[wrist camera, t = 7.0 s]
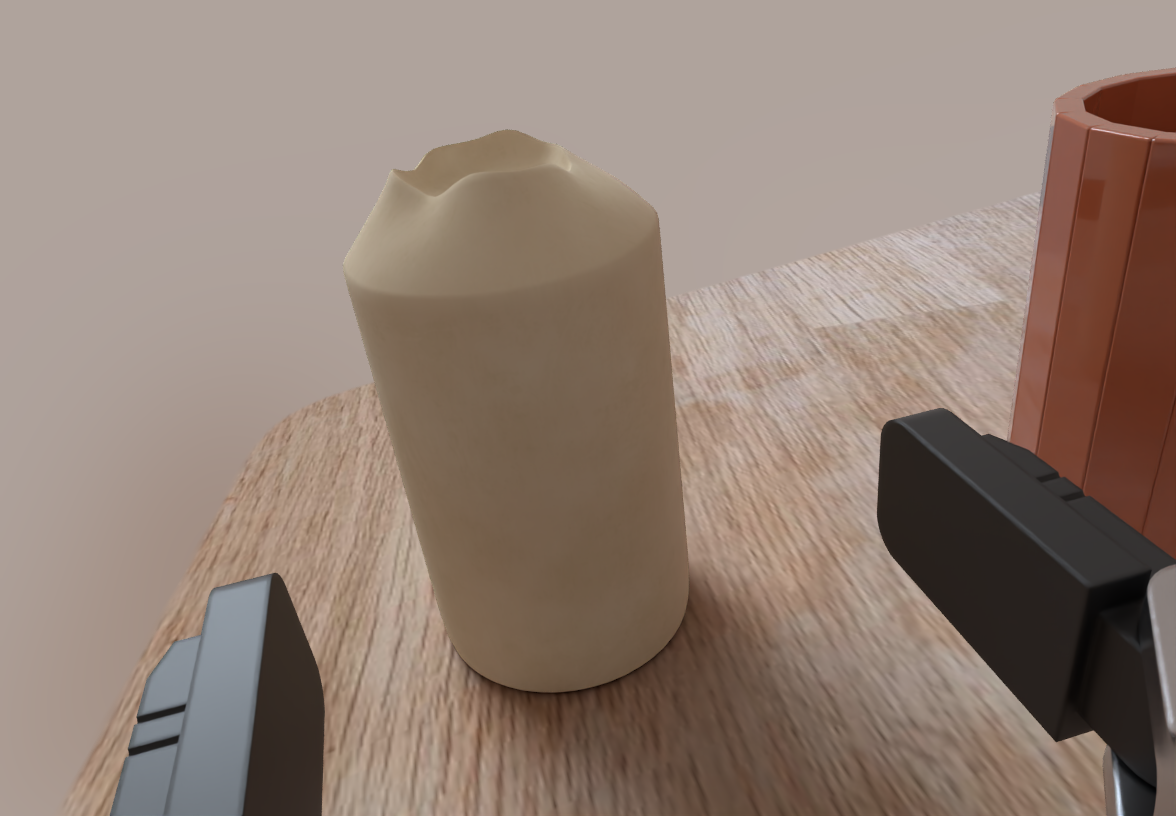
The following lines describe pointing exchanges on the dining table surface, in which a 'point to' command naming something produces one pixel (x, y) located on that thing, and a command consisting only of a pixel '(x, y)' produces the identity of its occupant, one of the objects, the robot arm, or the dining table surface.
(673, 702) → the dining table surface
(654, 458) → the candle
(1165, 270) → the terracotta cup
